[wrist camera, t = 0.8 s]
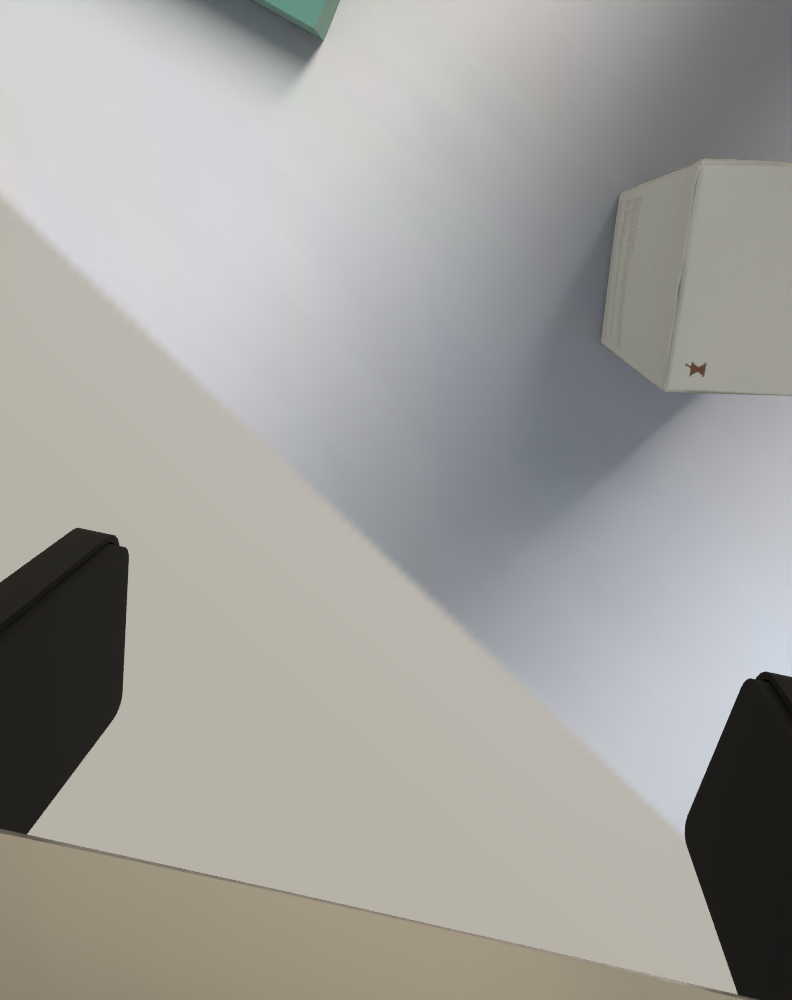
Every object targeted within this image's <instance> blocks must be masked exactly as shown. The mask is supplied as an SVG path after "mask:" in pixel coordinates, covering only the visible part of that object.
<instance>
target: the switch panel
mask: <svg viewBox="0 0 792 1000" xmlns="http://www.w3.org/2000/svg"><path fill="white" fill-rule="evenodd" d="M253 1H254V2H256V3H258V4H260V5H261V6H263V7H265V8H267V9H269V10H270V11H272V12H274V13H276V14H277V15H279V16H281V17H283V18H284V19H286V20H288V21H290V22H292V23H293V24H295V25H297V26H299V27H300V28H302V29H304V30H306V31H307V32H309V33H311V34H313V35H315V36H316V37H318V38H320V39H322V40H323V41H324V38H325V36H326V33H327V31H328V28H329V26H330V23H331V21H332V18H333V16H334V13H335V11H336V8H337V6H338V3H339V1H340V0H253Z"/></svg>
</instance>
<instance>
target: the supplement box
mask: <svg viewBox="0 0 792 1000" xmlns="http://www.w3.org/2000/svg"><path fill="white" fill-rule="evenodd" d="M601 343H602V344H603V345H604V346H606V347H607V348H608V349H609V350H611V351H612V352H613V353H614V354H616V355H617V356H618V357H620V358H621V359H622V360H623V361H625V362H626V363H627V364H629V365H630V366H631V367H632V368H634V369H635V370H636V371H638V372H639V373H640V374H641V375H643V376H644V377H645V378H646V379H648V380H649V381H650V382H652V383H653V384H654V385H655V386H657V387H658V388H659V389H660V390H662V391H663V392H683V393H715V394H748V395H782V396H792V162H779V161H758V160H737V159H714V158H703V159H701V160H699V161H697V162H695V163H693V164H691V165H689V166H687V167H685V168H682V169H680V170H677V171H674V172H672V173H669V174H666V175H664V176H661V177H658V178H656V179H653V180H650V181H648V182H645V183H642V184H640V185H637V186H635V187H633V188H631V189H628V190H626V191H624V192H621V193H620V196H619V203H618V210H617V216H616V223H615V231H614V238H613V246H612V254H611V262H610V270H609V279H608V287H607V295H606V303H605V312H604V320H603V328H602V337H601Z"/></svg>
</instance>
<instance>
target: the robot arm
mask: <svg viewBox="0 0 792 1000" xmlns="http://www.w3.org/2000/svg"><path fill="white" fill-rule="evenodd" d="M128 562H129V554H128V550H127V549H126V548H125V547H121V546H119V542H118V538H117V537H116V536H115V535H110V534H105V533H101V532H96V531H91V530H86V529H81V528H76V529H74V530H72V531H71V532H69V533H68V534H66V535H65V536H64V537H62V538H61V539H59V540H58V541H57V542H55V543H54V544H53V545H51V546H50V547H48V548H47V549H46V550H45V551H43V552H42V553H40V554H39V555H37V556H36V557H35V558H33V559H32V560H31V561H30V562H28V563H26V564H25V565H24V566H22V567H21V568H20V569H18V570H17V571H15V572H14V573H13V574H11V575H10V576H9V577H7V578H6V579H4V580H3V581H2V582H0V1000H792V677H789V676H784V675H779V674H775V673H770V672H763V673H760V674H759V675H758V676H757V677H756V679H751V678H750V679H747V680H746V681H745V682H744V683H743V685H742V687H741V689H740V692H739V694H738V696H737V699H736V701H735V704H734V706H733V708H732V711H731V713H730V716H729V718H728V720H727V723H726V725H725V727H724V730H723V732H722V735H721V737H720V739H719V742H718V744H717V747H716V749H715V751H714V754H713V756H712V759H711V761H710V763H709V766H708V768H707V771H706V773H705V775H704V778H703V780H702V783H701V785H700V787H699V790H698V792H697V794H696V797H695V799H694V802H693V804H692V806H691V809H690V811H689V814H688V816H687V819H686V824H685V840H686V844H687V848H688V851H689V854H690V856H691V859H692V862H693V865H694V868H695V871H696V874H697V877H698V880H699V883H700V885H701V888H702V891H703V894H704V897H705V900H706V903H707V905H708V909H709V912H710V914H711V917H712V920H713V923H714V926H715V929H716V932H717V935H718V938H719V940H720V943H721V946H722V949H723V952H724V955H725V958H726V961H727V963H728V967H729V969H730V972H731V975H732V978H733V981H734V984H735V987H736V990H737V993H738V995H737V994H732V993H728V992H723V991H719V990H715V989H711V988H706V987H702V986H698V985H693V984H689V983H684V982H680V981H676V980H672V979H667V978H663V977H659V976H655V975H650V974H646V973H642V972H637V971H633V970H629V969H624V968H620V967H616V966H611V965H607V964H603V963H598V962H594V961H590V960H585V959H581V958H576V957H572V956H568V955H563V954H559V953H555V952H551V951H546V950H542V949H537V948H533V947H529V946H525V945H520V944H515V943H511V942H507V941H503V940H498V939H494V938H489V937H485V936H480V935H476V934H472V933H467V932H463V931H458V930H454V929H450V928H445V927H440V926H436V925H432V924H428V923H423V922H419V921H414V920H410V919H406V918H401V917H397V916H392V915H388V914H383V913H379V912H374V911H370V910H365V909H361V908H357V907H352V906H348V905H343V904H339V903H334V902H330V901H325V900H321V899H317V898H312V897H307V896H303V895H299V894H294V893H290V892H285V891H281V890H276V889H272V888H267V887H263V886H258V885H254V884H249V883H244V882H240V881H235V880H231V879H226V878H222V877H217V876H213V875H208V874H203V873H199V872H194V871H190V870H185V869H181V868H176V867H172V866H167V865H163V864H158V863H154V862H149V861H144V860H140V859H135V858H131V857H126V856H122V855H117V854H112V853H108V852H103V851H99V850H94V849H90V848H85V847H80V846H76V845H72V844H67V843H63V842H57V841H53V840H48V839H44V838H39V837H35V836H31V835H27V833H28V832H29V831H30V829H31V828H32V827H33V825H34V824H35V823H36V821H37V820H38V819H39V817H40V816H41V815H42V813H43V812H44V811H45V809H46V808H47V807H48V805H49V804H50V803H51V801H52V800H53V799H54V798H55V796H56V795H57V793H58V792H59V791H60V790H61V788H62V787H63V786H64V784H65V783H66V782H67V780H68V779H69V777H70V776H71V775H72V773H73V772H74V771H75V770H76V768H77V767H78V766H79V764H80V763H81V761H82V760H83V759H84V758H85V756H86V755H87V754H88V752H89V751H90V750H91V748H92V747H93V746H94V744H95V743H96V742H97V740H98V739H99V738H100V736H101V735H102V734H103V732H104V731H105V730H106V728H107V727H108V726H109V724H110V723H111V721H112V720H113V719H114V717H115V715H116V714H117V711H118V709H119V706H120V703H121V699H122V691H123V670H124V668H123V667H124V648H125V628H126V606H127V605H126V604H127V584H128V564H129V563H128Z"/></svg>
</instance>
